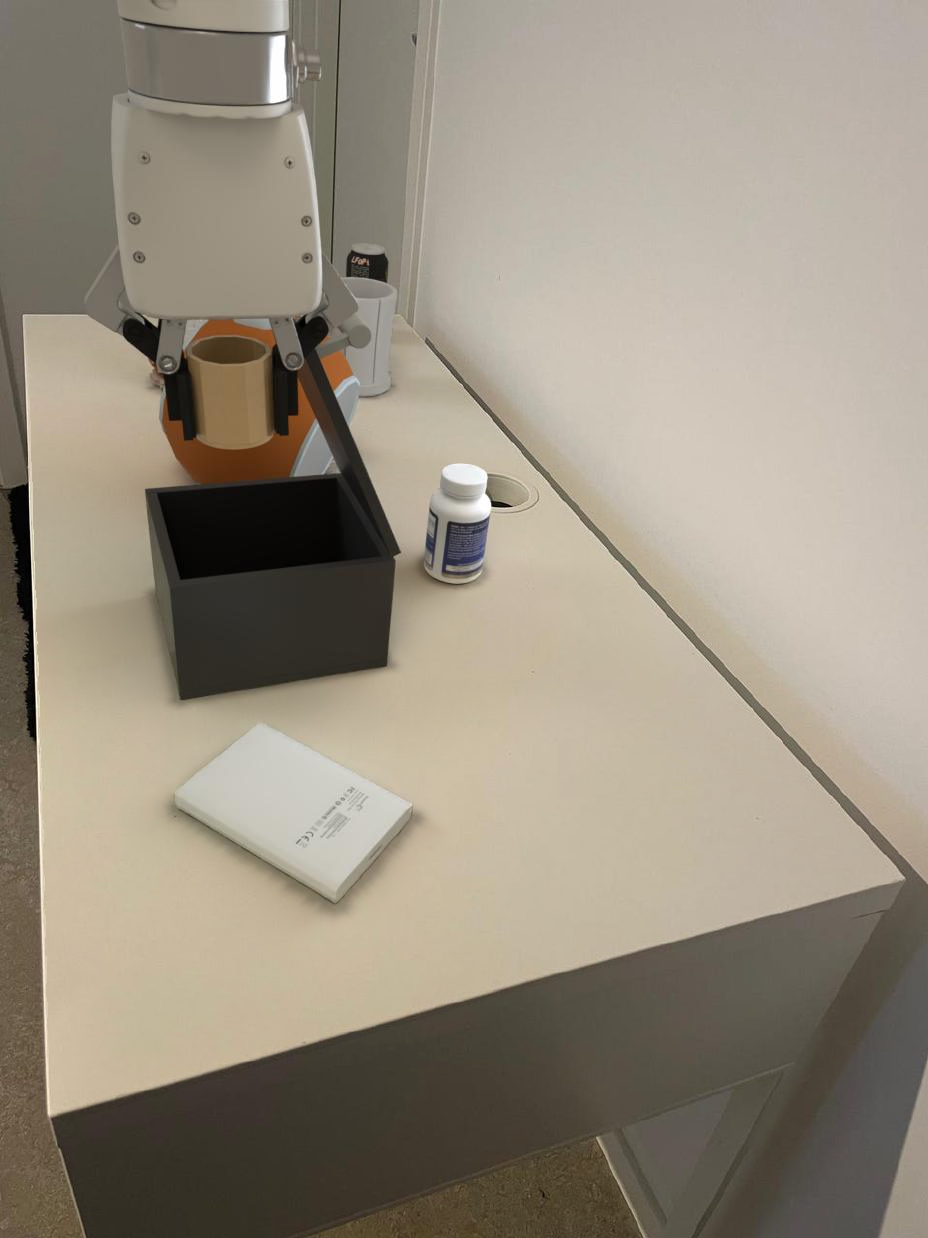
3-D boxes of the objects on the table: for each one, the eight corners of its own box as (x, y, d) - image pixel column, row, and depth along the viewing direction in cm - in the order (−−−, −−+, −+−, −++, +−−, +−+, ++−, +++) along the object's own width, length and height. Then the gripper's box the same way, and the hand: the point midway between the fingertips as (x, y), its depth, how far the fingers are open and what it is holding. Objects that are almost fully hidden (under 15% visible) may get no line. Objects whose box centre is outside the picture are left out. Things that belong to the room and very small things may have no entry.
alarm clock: (230, 424, 101) (223, 264, 91) (376, 459, 98) (386, 298, 88) (133, 498, 86) (112, 317, 76) (303, 542, 83) (305, 360, 73)
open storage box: (180, 700, 64) (169, 588, 59) (155, 593, 74) (144, 488, 69) (387, 666, 70) (396, 560, 64) (339, 571, 80) (343, 472, 74)
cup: (370, 408, 109) (375, 309, 102) (301, 391, 111) (302, 292, 104) (401, 380, 117) (408, 286, 110) (337, 365, 119) (340, 271, 112)
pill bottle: (492, 567, 83) (507, 473, 78) (461, 592, 80) (475, 495, 74) (444, 546, 85) (455, 452, 80) (411, 570, 82) (421, 473, 76)
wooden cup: (197, 451, 51) (188, 366, 48) (192, 416, 54) (183, 335, 51) (279, 447, 52) (275, 364, 49) (269, 413, 56) (265, 334, 53)
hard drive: (261, 737, 63) (411, 818, 58) (175, 809, 57) (334, 906, 52) (261, 719, 62) (413, 801, 57) (173, 791, 56) (335, 889, 51)
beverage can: (373, 326, 133) (378, 240, 126) (390, 339, 129) (396, 252, 122) (337, 328, 130) (340, 241, 123) (353, 342, 126) (357, 253, 119)
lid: (303, 354, 53) (378, 320, 53) (255, 282, 63) (319, 254, 63) (391, 557, 64) (452, 528, 65) (338, 469, 74) (392, 444, 74)
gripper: (369, 70, 48) (363, 396, 58) (19, 47, 43) (83, 407, 54) (403, 93, 42) (389, 449, 53) (3, 70, 37) (79, 466, 48)
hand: (234, 425), depth 53 cm, fingers closed on wooden cup, 4 cm apart
